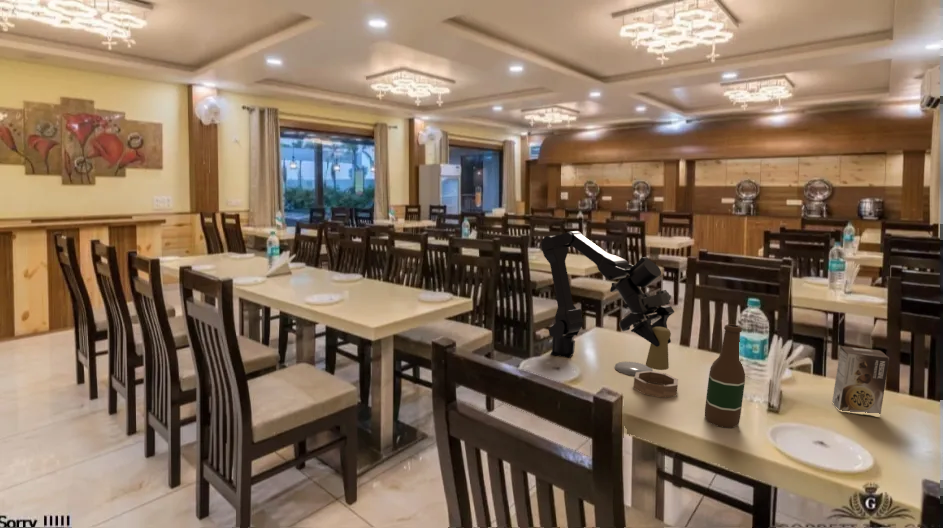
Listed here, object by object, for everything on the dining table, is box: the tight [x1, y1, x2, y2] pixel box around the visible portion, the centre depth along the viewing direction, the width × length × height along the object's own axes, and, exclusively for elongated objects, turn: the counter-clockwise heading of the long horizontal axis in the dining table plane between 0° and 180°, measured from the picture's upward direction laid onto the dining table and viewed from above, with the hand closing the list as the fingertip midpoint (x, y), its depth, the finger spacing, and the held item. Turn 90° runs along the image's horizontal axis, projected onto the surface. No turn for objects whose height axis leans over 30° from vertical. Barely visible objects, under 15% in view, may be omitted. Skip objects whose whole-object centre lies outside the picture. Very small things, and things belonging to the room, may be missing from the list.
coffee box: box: [831, 345, 890, 414], centre depth 136 cm, size 9×6×16 cm
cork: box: [645, 327, 672, 371], centre depth 144 cm, size 6×6×11 cm
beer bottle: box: [704, 323, 746, 429], centre depth 125 cm, size 8×8×24 cm
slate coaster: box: [614, 361, 654, 377], centre depth 160 cm, size 11×11×1 cm
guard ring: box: [632, 370, 679, 398], centre depth 146 cm, size 11×11×3 cm
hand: (664, 344), depth 143 cm, fingers closed on cork, 5 cm apart
